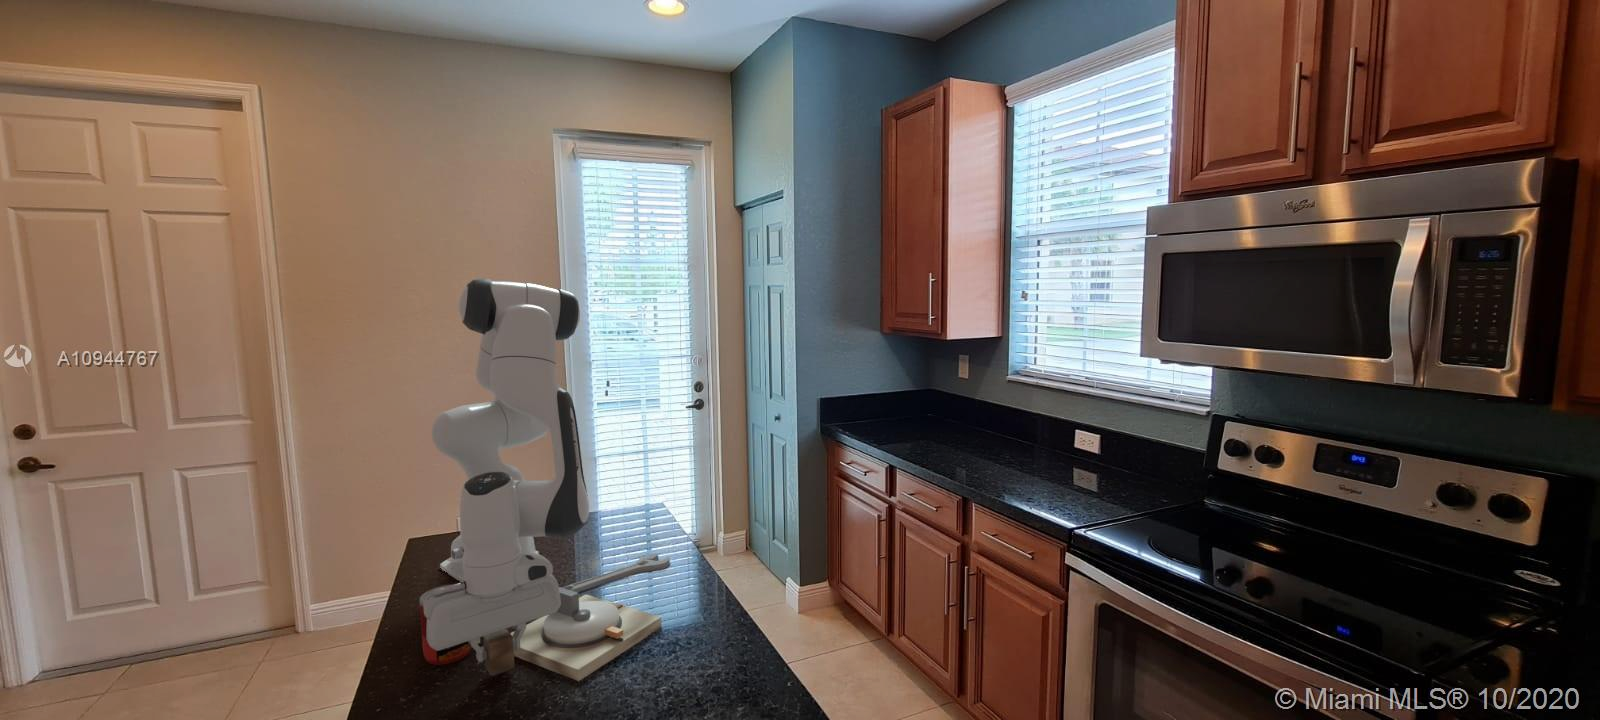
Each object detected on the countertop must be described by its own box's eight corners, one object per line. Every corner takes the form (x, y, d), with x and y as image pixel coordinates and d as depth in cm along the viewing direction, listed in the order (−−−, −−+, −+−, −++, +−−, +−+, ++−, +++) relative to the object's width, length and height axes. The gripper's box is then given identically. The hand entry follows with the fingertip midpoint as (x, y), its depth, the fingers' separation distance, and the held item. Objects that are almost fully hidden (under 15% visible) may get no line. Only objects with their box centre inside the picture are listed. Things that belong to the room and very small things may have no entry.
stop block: (491, 676, 109) (489, 644, 108) (485, 667, 111) (482, 635, 111) (514, 667, 111) (512, 636, 110) (507, 659, 114) (505, 628, 113)
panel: (499, 650, 119) (498, 637, 119) (586, 603, 136) (585, 592, 136) (578, 681, 109) (578, 667, 109) (661, 627, 126) (661, 615, 126)
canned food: (440, 670, 113) (435, 608, 112) (414, 657, 117) (409, 597, 116) (482, 649, 119) (478, 590, 118) (456, 637, 124) (452, 580, 122)
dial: (521, 630, 121) (519, 600, 120) (577, 601, 132) (576, 573, 132) (592, 656, 112) (590, 624, 112) (646, 622, 123) (645, 593, 123)
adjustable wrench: (564, 599, 140) (563, 591, 139) (554, 589, 145) (553, 581, 144) (673, 567, 155) (672, 559, 155) (660, 558, 160) (660, 551, 160)
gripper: (427, 600, 100) (433, 687, 102) (562, 562, 114) (566, 640, 115) (417, 586, 105) (424, 669, 107) (548, 551, 118) (552, 626, 120)
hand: (499, 654), depth 111 cm, fingers closed on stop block, 3 cm apart
